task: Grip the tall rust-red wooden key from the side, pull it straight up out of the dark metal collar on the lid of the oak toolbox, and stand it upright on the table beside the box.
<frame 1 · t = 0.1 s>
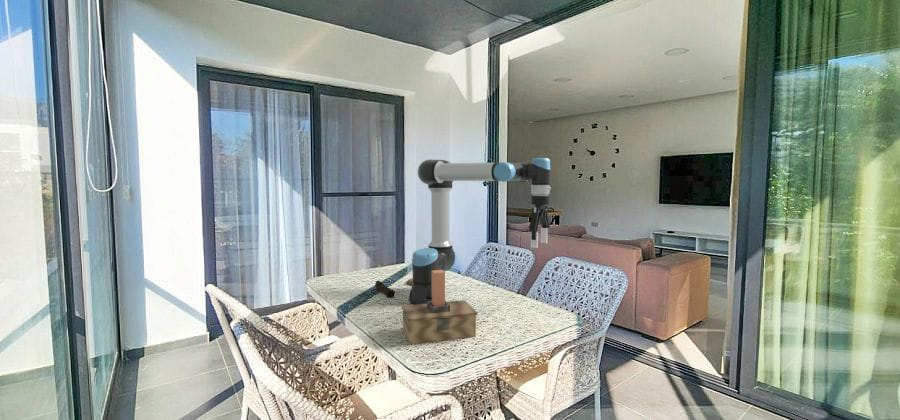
hand: (539, 245, 173), 28 cm above the table, tool pointing down, fingers open, 13 cm apart
toolbox: (438, 332, 150), on the table
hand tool: (382, 293, 200), on the table
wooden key: (438, 309, 149), point 9 cm above the table, touching toolbox
cookie: (416, 284, 217), on the table
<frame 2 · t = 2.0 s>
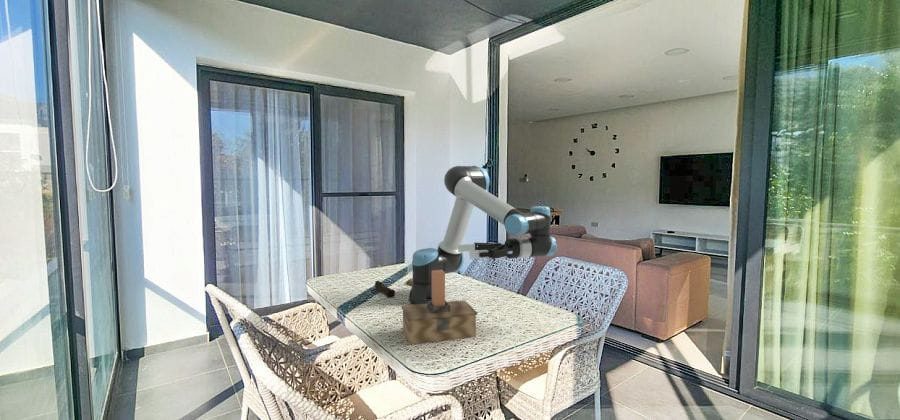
hand: (463, 251, 150), 30 cm above the table, tool horizontal, fingers open, 13 cm apart
nothing on the table moved.
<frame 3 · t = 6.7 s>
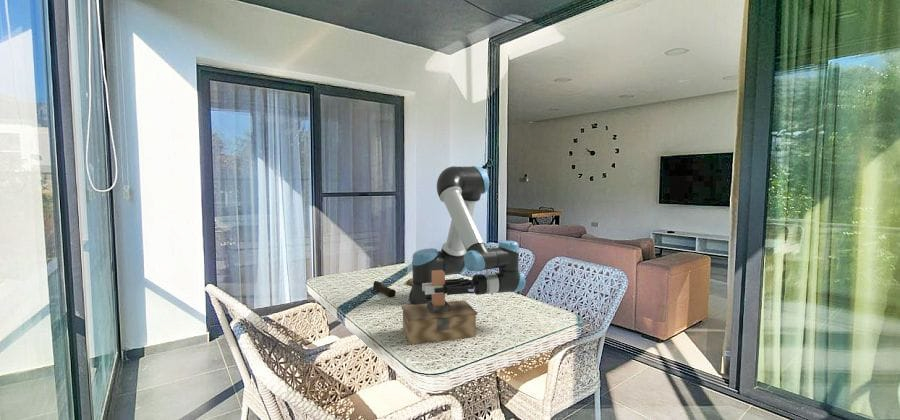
hand: (423, 288, 147), 17 cm above the table, tool horizontal, fingers closed on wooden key, 4 cm apart
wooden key: (438, 309, 149), point 9 cm above the table, touching gripper, toolbox
everything else where it was.
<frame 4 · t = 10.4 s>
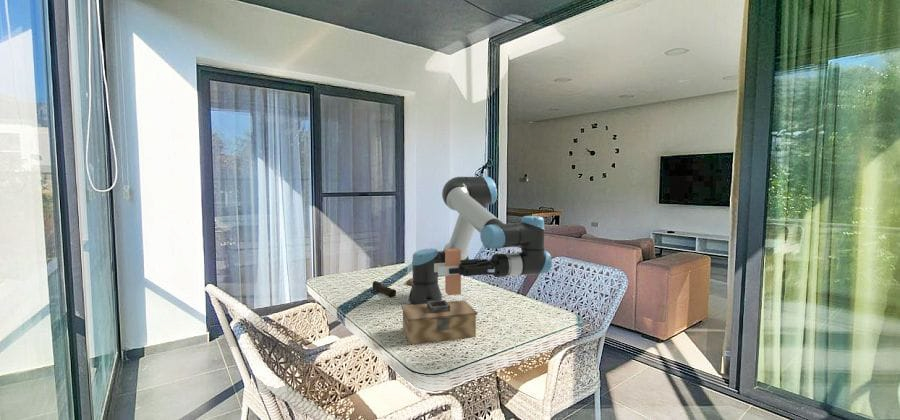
hand: (436, 269, 127), 28 cm above the table, tool horizontal, fingers closed on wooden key, 4 cm apart
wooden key: (453, 293, 130), point 21 cm above the table, touching gripper
everything else where it was.
when the fingers open (9 cm above the table, at t = 14.0 s): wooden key drops 1 cm, on the table.
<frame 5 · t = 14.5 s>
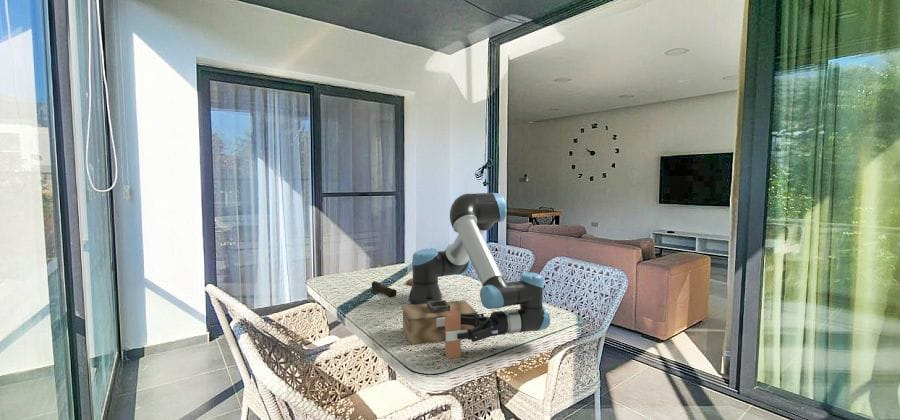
hand: (441, 329, 130), 9 cm above the table, tool horizontal, fingers open, 11 cm apart
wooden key: (452, 355, 132), on the table
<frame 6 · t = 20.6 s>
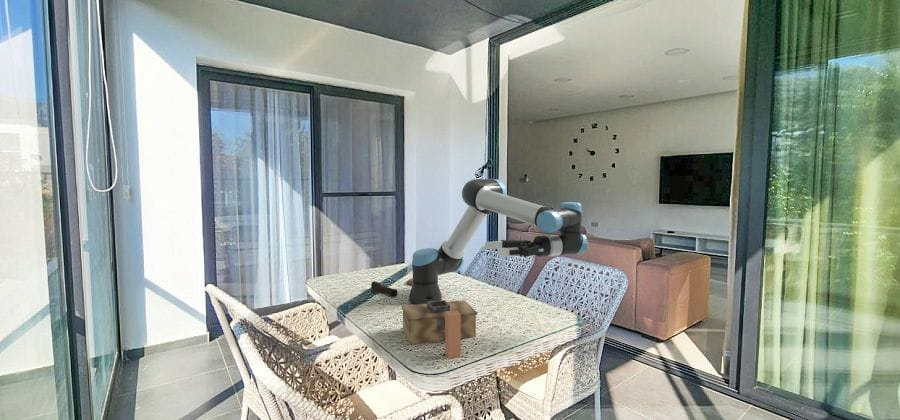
hand: (492, 249, 143), 32 cm above the table, tool horizontal, fingers open, 13 cm apart
at the end: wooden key inside the target area (0.1 cm from its centre), on the table; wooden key tilted 0°; the gripper is holding nothing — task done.
